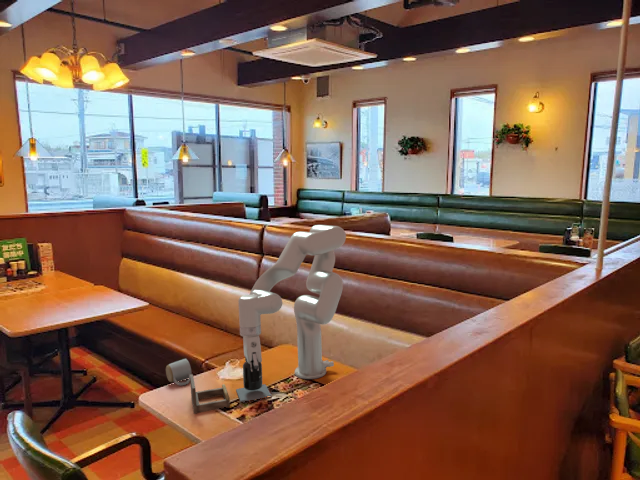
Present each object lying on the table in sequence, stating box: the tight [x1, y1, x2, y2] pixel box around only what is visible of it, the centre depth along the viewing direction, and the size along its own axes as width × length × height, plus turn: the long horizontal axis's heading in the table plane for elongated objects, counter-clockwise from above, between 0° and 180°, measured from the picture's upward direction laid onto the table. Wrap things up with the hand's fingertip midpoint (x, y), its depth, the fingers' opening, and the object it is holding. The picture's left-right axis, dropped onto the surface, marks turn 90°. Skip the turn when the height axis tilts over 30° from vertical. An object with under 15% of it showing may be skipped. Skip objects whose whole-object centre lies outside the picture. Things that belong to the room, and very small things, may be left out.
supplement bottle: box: [242, 355, 263, 390], centre depth 171 cm, size 7×7×12 cm
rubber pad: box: [235, 383, 272, 403], centre depth 172 cm, size 11×10×1 cm
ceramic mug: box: [165, 358, 192, 387], centre depth 184 cm, size 11×8×8 cm
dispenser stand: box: [189, 373, 231, 415], centre depth 165 cm, size 12×12×9 cm
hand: (252, 377), depth 171 cm, fingers closed on supplement bottle, 6 cm apart
